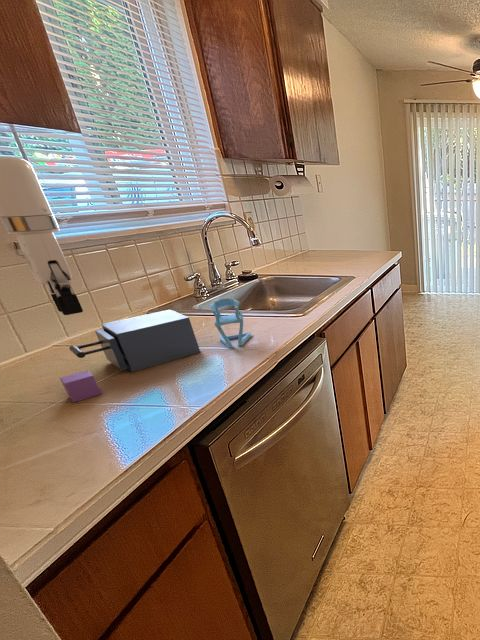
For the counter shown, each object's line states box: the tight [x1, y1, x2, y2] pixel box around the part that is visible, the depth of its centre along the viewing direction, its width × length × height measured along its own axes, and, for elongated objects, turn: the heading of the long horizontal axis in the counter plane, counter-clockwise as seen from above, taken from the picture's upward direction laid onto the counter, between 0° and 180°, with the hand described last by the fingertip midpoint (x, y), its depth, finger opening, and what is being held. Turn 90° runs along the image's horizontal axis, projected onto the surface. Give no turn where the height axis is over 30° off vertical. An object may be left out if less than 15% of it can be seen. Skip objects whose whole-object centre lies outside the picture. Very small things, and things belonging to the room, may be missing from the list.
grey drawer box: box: [101, 308, 201, 372], centre depth 101 cm, size 15×13×10 cm
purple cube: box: [59, 370, 102, 403], centre depth 84 cm, size 4×4×4 cm
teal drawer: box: [68, 328, 129, 371], centre depth 98 cm, size 19×11×8 cm, turn 144°
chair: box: [209, 298, 252, 349], centre depth 109 cm, size 8×8×12 cm
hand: (70, 311), depth 88 cm, fingers open, 3 cm apart
